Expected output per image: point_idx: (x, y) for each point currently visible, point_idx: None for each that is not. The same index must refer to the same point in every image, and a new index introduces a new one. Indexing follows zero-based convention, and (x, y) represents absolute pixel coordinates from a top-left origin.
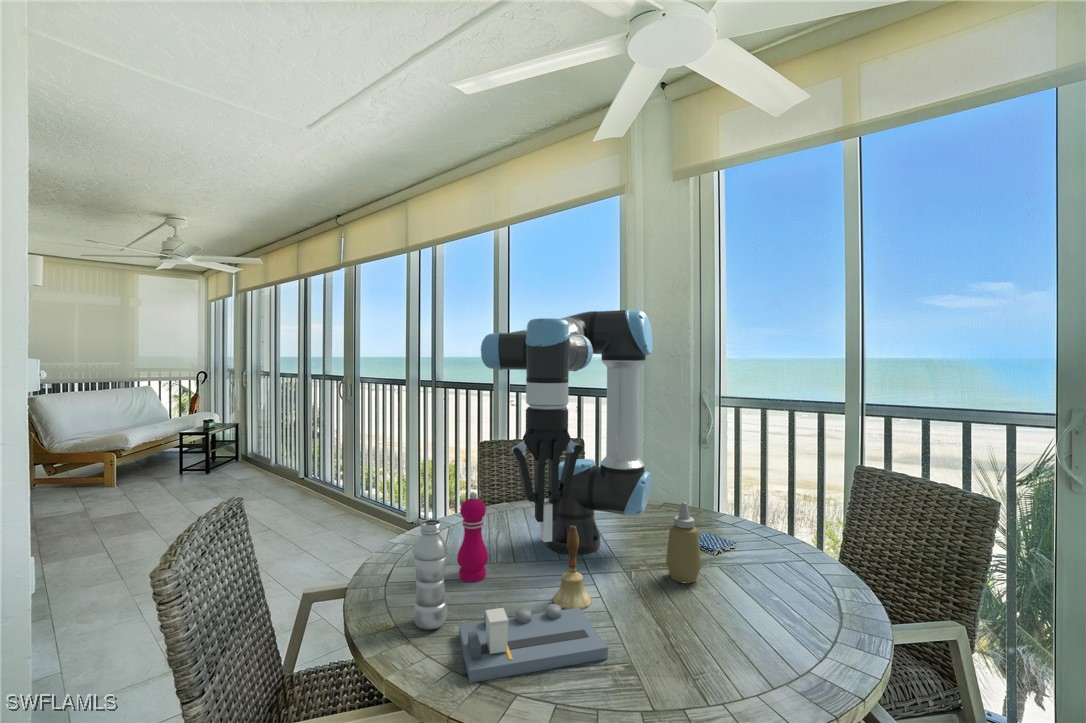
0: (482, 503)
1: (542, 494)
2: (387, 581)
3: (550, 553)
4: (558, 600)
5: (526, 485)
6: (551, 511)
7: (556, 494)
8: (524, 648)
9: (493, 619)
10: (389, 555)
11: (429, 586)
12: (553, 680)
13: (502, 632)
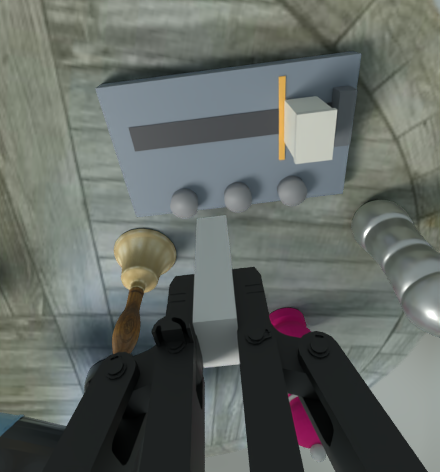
0: (298, 434)
1: (252, 371)
2: (399, 317)
3: None
4: (168, 248)
5: (383, 428)
6: (198, 294)
7: (165, 373)
8: (251, 108)
9: (326, 121)
10: (381, 368)
11: (417, 240)
12: (208, 33)
13: (302, 108)
